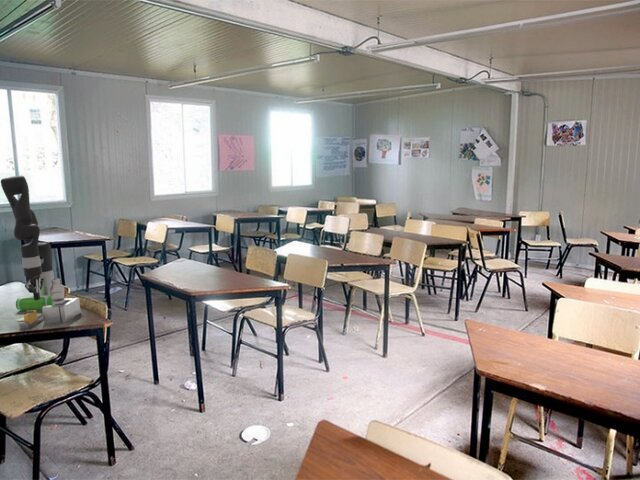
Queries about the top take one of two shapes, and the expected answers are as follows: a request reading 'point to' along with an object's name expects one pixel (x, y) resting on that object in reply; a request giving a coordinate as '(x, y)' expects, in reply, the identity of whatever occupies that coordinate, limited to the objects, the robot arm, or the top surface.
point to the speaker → (33, 303)
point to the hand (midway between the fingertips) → (37, 299)
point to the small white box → (56, 313)
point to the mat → (23, 318)
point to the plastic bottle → (57, 292)
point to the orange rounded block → (30, 316)
